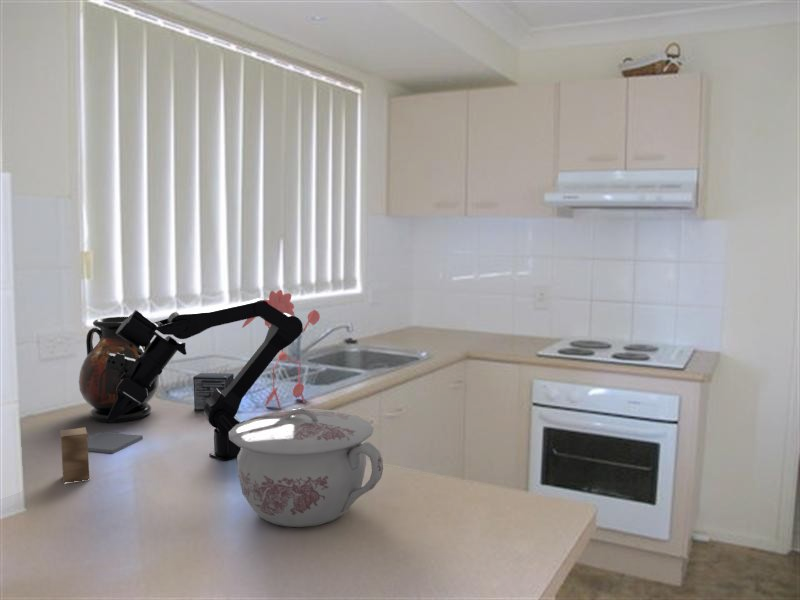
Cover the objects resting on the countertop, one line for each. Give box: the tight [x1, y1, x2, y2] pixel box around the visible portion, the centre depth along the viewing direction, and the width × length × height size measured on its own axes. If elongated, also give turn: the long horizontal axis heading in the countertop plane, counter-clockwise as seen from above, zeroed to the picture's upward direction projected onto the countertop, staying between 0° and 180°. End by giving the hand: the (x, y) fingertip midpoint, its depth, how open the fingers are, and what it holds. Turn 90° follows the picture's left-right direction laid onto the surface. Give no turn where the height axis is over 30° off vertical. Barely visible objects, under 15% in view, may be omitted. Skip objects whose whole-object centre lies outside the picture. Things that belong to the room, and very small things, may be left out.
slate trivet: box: [87, 431, 144, 454], centre depth 178 cm, size 12×12×1 cm
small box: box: [192, 372, 235, 412], centre depth 211 cm, size 11×6×10 cm, turn 84°
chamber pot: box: [229, 407, 384, 528], centre depth 136 cm, size 28×28×21 cm
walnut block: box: [59, 426, 90, 484], centre depth 154 cm, size 5×5×10 cm
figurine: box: [241, 289, 321, 409], centre depth 218 cm, size 15×26×35 cm, turn 135°
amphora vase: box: [78, 316, 160, 423], centre depth 202 cm, size 22×22×28 cm
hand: (110, 416), depth 157 cm, fingers open, 9 cm apart
